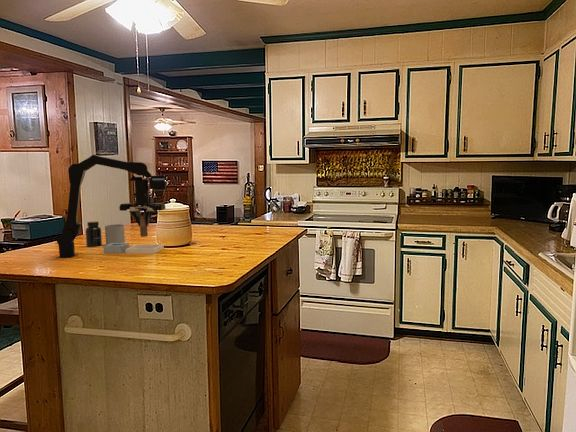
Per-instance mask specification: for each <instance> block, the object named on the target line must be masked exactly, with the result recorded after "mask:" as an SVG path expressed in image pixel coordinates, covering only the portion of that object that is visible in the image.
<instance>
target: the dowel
mask: <svg viewBox="0 0 576 432" xmlns="http://www.w3.org/2000/svg"><path fill="white" fill-rule="evenodd" d="M139 217H140V226H139V228H140V229H139V232H140V233H139V234H140V237H142V238H144V237H148V232H149V231H148V226H146V218H145V215H140V216H139Z"/></svg>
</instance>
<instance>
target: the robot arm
mask: <svg viewBox="0 0 576 432" xmlns="http://www.w3.org/2000/svg"><path fill="white" fill-rule="evenodd" d="M96 165H99V166H104V167H109V168H113V169H118V170H123V171H127V172H128V173H132V174H134V175H132V177H131V178H130V179H129V181H130V182H134V193H133V196H134V197H135V199H134V201H135V203H132V202H128V203H127V202H125V203H121V204H120V205H119V207H118V209H119V211H129V213H131V215H132V216H133V218H134V220H135V222H136V223H137V226H138V227H140V217H139V216H141V210H142V209H143V210H145V211H144V216H145V218H146V226H147V227H148V226H149V224H150V221H151V218H152V216H153V214H154V213H155V212H157V211H163V210H166V204H165V203H164V202H155V199H154V197H152V196H151V193H150V192H149V189H152V191H153V192H154V191H156V192H157V191H166V190H167V188H166V187H167V186H166V185H167V183H166V176H165V174H161V175H152V173H150V172H149V171H148V165H146V163H144V162H140V161H125V160H120V159H116V158H110V157H105V156H102V155H101V156H100V155H97V154H92V155H90V156H89V157H87V158H86V159H83V160H82V161H80V162H79V163H73V164H71V165H70V166H69V167H68V169H67V171H68V172H67V173H68V180H69V185H70V186H69V193H68V194H69V195H68V206H67V214H66V219H65V222H64V224H63V228H62V230H61V235H60V236H58V238H57V239H56V240H55V241H56V242H57V245H58V253H59V255H58V256H55V258H56V259H70V258H74V257H75V256H78V255H79V254H78V253H76V250H75V249H76V248H75V247H76V246H75V239H76V238H77V237H78V236H79V234H80V233H81V232H82V228H81V227H82V224H83V222H79V218H78V216H79V207H80V197H81V189H82V184H83V181H84V178H85V177H86V176H85V175H86V171H88V170H90V169H91V168H93V167H94V166H96ZM135 175H137V176H135ZM143 177H145V178H143Z"/></svg>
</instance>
